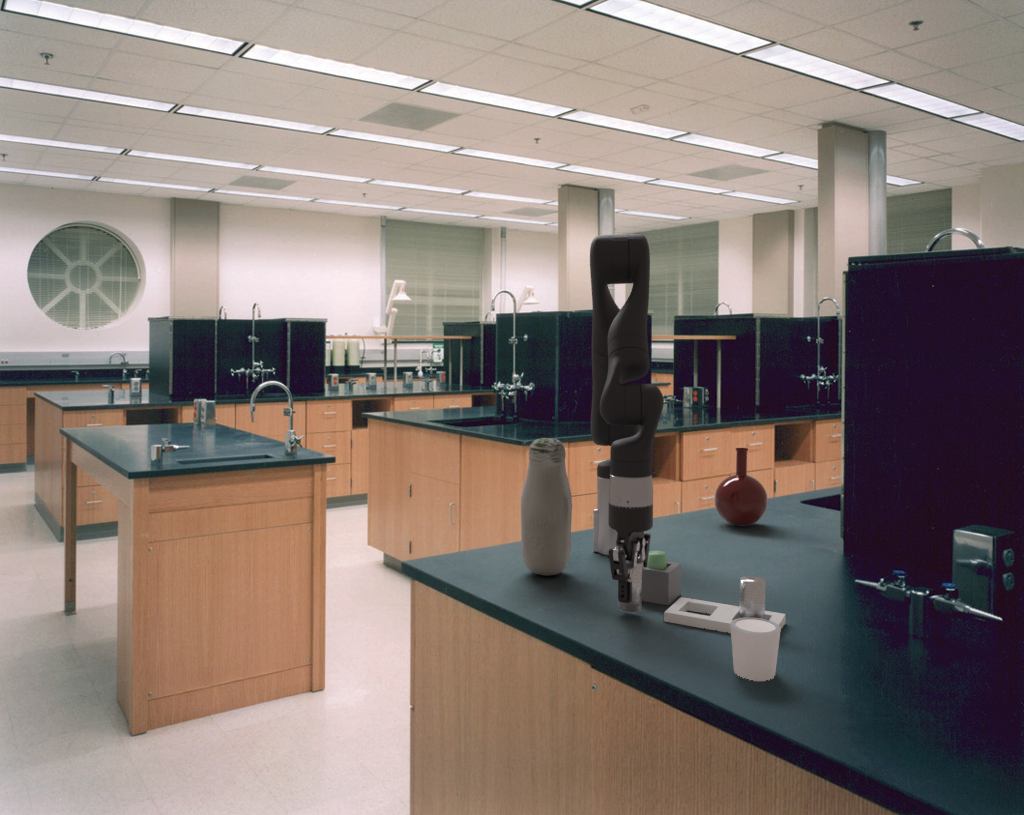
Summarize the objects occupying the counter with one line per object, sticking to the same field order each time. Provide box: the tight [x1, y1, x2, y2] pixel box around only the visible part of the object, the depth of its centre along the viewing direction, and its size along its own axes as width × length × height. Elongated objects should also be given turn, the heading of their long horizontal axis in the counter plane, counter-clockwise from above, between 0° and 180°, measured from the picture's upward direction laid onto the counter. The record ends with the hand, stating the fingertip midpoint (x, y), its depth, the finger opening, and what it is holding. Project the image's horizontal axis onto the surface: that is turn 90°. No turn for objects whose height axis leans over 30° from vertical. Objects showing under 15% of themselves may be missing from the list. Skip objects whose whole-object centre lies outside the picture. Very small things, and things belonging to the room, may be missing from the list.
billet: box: [617, 561, 643, 613], centre depth 134 cm, size 4×4×8 cm
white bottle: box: [520, 437, 573, 577], centre depth 158 cm, size 10×10×28 cm
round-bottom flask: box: [714, 447, 769, 527], centre depth 200 cm, size 13×13×20 cm
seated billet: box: [739, 575, 766, 619], centre depth 128 cm, size 4×4×8 cm
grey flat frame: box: [663, 596, 787, 634], centre depth 131 cm, size 18×9×2 cm, turn 60°
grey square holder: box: [642, 560, 682, 606], centre depth 144 cm, size 7×7×6 cm
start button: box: [647, 550, 668, 570], centre depth 144 cm, size 4×4×6 cm
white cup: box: [730, 618, 782, 682], centre depth 111 cm, size 7×7×7 cm
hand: (629, 597), depth 134 cm, fingers closed on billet, 4 cm apart
